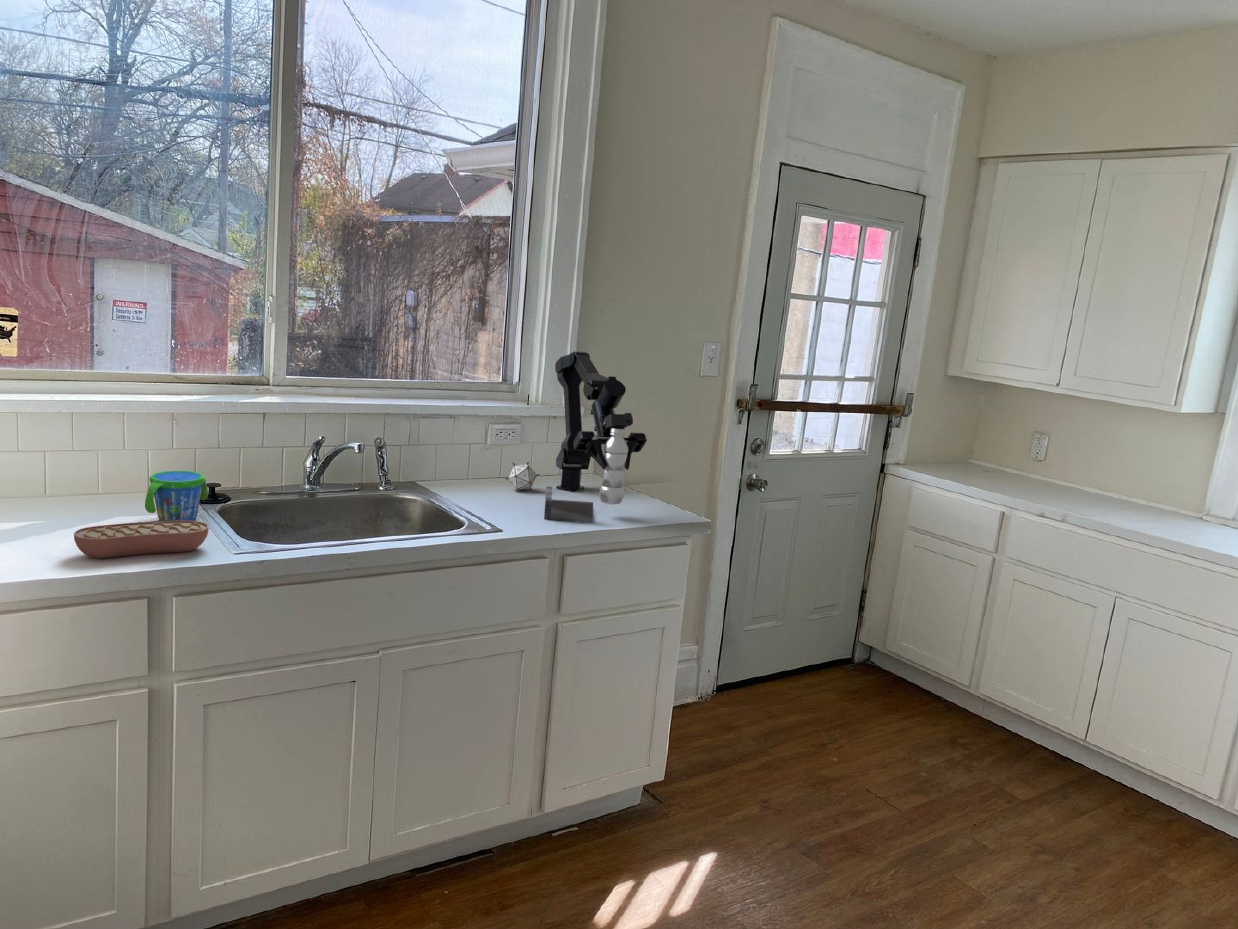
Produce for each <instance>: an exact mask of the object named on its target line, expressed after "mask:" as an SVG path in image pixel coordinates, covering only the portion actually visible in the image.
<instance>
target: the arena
mask: <svg viewBox="0 0 1238 929" xmlns="http://www.w3.org/2000/svg"><path fill="white" fill-rule="evenodd" d="M545 489H546V490H545V501H544V515H543V516H544V517H543V519H544V520H545V519H547V521H548V520H550V521H559V522H560V521H561V522H573V521H580V522H579V523H587V522H589V523H588V524H590V523H592V520H593V511H594V510H593V509H594V502H592V501H581V500H569V499H568V500H567V499H566V500H565V499H552V496H553V486H546V488H545Z"/></svg>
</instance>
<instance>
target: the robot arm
mask: <svg viewBox="0 0 1238 929" xmlns="http://www.w3.org/2000/svg"><path fill="white" fill-rule="evenodd" d="M554 370H555V371H554V372H555V373H556V377H557V381H558V383H559V384H560V385H561V387H562V389H563V401H564V402H563V406H564V421H565V437H564V439H563V440H562V442H561V445H560V450H559V452H558V454H557V457H556V458H555V467H556V468H558V469H559V470H561V478H560V484H559V485H557V486H556V489H558V490H565V491H569V492H571V491H572V492H579V491H581V490H584V489H585V486H583V485H581V481H582V470H585V471H586V470H587V471H588V469H589V466H590V463H591V458H592V459H594V460H595V462H597V464H598V465H599V466H600V467H601V469H602V470H603V471H604V470H605V469H606V463H605V459H604V450H603V447H602V446H605V443H606V442H607V441H608V439H609V438H610V437H611V435H610V432H611V427H621V428H625V429H626V428H627V427H631V426H632V425H633V424H634V419H633V415H632V413H631V412H625V413H623V414H622V413H619V414H618V413H616V412H615V409H616V408H618V407H619V405H620V403H621V401H622V399H623V398H624V395H625V393H626V391H627V389H626V385H624V384H623V382H622V381H620V380H619V379H617V377H616V376H613V375H612V376H608V377H606V376H605V375H602V374H600V372H599V371H598V370H597V368H596V366H595V365H594V363H593V361H592V360H591V356H590V353H589V352H586V351H571V352H570V353H568V354H567V355H563V356H561V357H559V358H558V359H557V360H556V361H555V365H554ZM582 382H583V389H582V391H583V395H584V397H585V399H586V401H593V402H592V404H591V409H590V415H593V420H594V424H595V426H594V427H593V430H594V431H592V430H583V425H582V424H583V423H582V422H583V421H582V408H581V392H580V386H581V383H582ZM595 432H596V433H597V434H595ZM623 438H624V440H625V441H626V443H627V445H628V453H627V458H626V463H625V470H626V471H628V470H629V468H630V465H631V464H630V463H631V457H632V454H633V453H639V452H641V451H642V449H643V448H644V446H645V445H646V443H647V442H648V439H647V435H646V434H645V433H644V432H637V431H636V432H633V431H632V432H630V433H629V435H628V437H623Z"/></svg>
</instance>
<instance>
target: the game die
mask: <svg viewBox="0 0 1238 929" xmlns="http://www.w3.org/2000/svg"><path fill="white" fill-rule="evenodd" d="M512 465H513V467H512V469H511V471H510V473H509V475H508V477H506V478H504V480H505V481H509V482H510V483H511V484H512V486H514V488H515V492H516V493H517V492H518V491H519V490H530V491H531V492H533V489H532V487H533V485H534V483H535V480H536V478H537V477H539V476H540V474H539V473H536V472H535V471H534V469H532V467H531V465H529V461H527V462H526V463H525V464H523V463H522V464H516V463H515V462H512Z"/></svg>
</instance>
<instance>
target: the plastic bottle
mask: <svg viewBox="0 0 1238 929" xmlns="http://www.w3.org/2000/svg"><path fill="white" fill-rule="evenodd" d="M625 429H626V427H625V428H621V427H611V432H610V435H611V437H610V438H609V439H608V441H607V442H606V443H605V445H603V455H604V459H605V463H606V469H605V470H603V475H602V481H601V486H600V488H599V499H600V502H601V503H603V504H607V505H618V504H619V505H620V504H621V503H623V500H624V498H625V487H624V484H625V483H624V481H625V480H624V479H625V478H624V477H625V470H626V468H625V463H626V458H627V453H628V445H627V443H626V441H625V440H624V438H625V435H626V434H625V433H626V430H625Z"/></svg>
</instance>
